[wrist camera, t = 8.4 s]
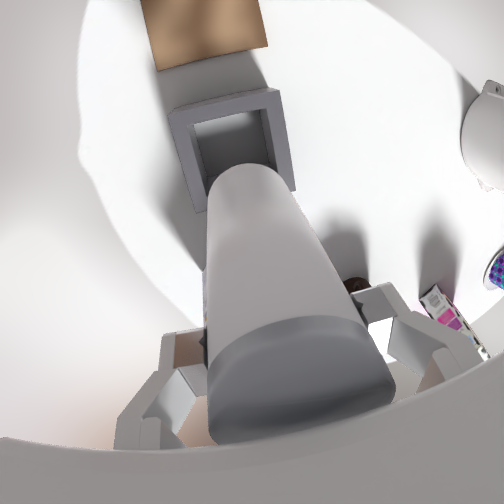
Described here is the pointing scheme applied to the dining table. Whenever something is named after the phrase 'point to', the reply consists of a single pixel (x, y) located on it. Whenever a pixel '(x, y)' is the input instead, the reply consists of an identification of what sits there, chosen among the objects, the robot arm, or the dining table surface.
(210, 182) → the housing
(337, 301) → the cylinder
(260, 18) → the mat
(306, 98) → the dining table surface
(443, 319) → the candy bar box
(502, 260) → the pudding
